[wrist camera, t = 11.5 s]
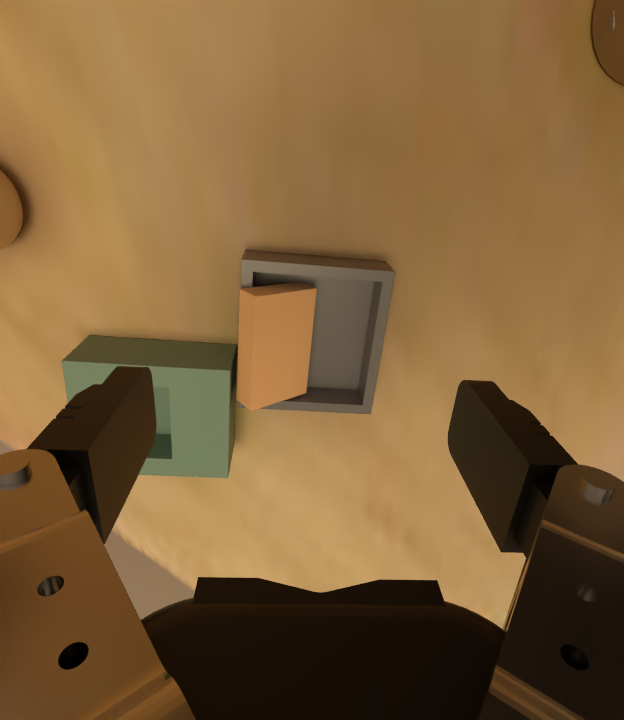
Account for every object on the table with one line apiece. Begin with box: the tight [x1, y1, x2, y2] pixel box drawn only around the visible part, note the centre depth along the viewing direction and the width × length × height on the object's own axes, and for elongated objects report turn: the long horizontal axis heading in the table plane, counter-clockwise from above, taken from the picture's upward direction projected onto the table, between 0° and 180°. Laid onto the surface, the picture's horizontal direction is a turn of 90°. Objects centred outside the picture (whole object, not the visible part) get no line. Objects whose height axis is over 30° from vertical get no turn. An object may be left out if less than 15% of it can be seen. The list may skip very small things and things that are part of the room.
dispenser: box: [62, 335, 237, 478], centre depth 37 cm, size 12×10×5 cm
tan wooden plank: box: [237, 282, 317, 411], centre depth 34 cm, size 2×6×9 cm
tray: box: [238, 250, 395, 414], centre depth 36 cm, size 11×12×4 cm
